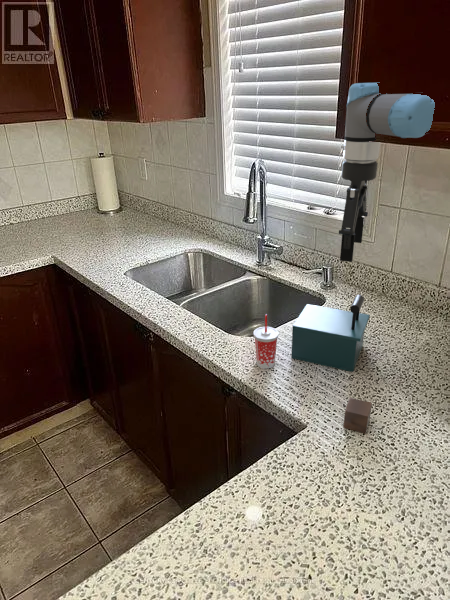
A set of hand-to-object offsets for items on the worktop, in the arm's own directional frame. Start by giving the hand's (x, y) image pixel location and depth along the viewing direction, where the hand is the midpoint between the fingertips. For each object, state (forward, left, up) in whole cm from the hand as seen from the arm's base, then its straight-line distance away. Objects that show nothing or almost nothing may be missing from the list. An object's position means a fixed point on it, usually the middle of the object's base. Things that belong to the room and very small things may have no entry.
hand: (351, 251), depth 108 cm
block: (-9, +30, -26) cm, 41 cm away
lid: (+2, +6, -17) cm, 18 cm away
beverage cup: (+16, +17, -26) cm, 35 cm away
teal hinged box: (+3, +6, -26) cm, 27 cm away
